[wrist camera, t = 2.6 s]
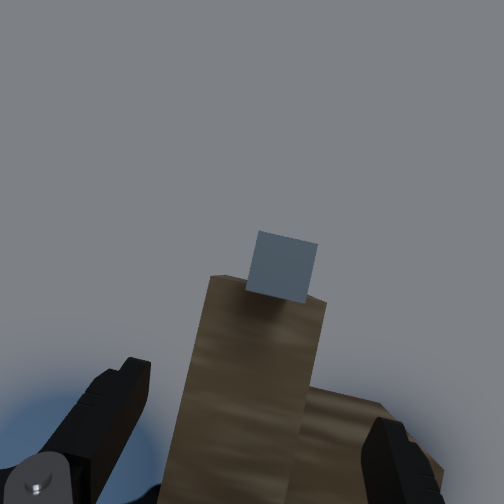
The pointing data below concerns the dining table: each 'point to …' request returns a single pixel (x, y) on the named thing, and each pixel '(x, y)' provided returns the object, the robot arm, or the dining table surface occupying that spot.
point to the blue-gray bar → (281, 267)
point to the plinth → (265, 410)
